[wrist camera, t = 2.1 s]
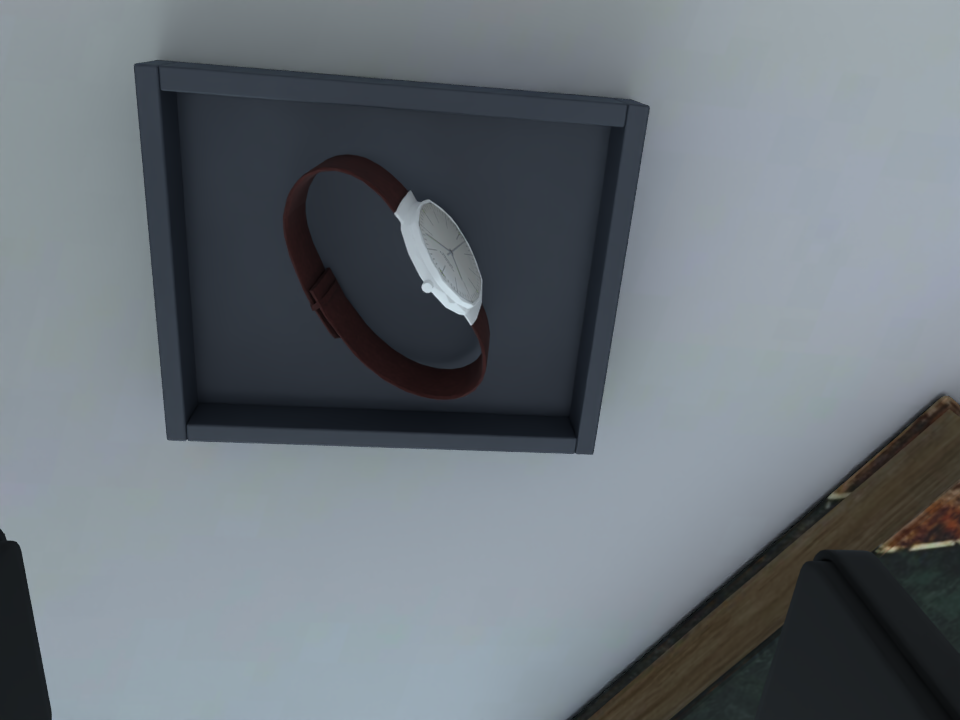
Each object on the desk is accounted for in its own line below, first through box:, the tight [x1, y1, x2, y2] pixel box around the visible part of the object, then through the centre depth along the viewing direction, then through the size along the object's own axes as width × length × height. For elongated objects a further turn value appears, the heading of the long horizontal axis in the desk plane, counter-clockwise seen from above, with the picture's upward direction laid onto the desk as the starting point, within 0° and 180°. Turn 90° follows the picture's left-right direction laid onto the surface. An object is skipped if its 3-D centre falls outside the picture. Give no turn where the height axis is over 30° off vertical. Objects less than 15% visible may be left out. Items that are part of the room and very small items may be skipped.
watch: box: [283, 154, 490, 400], centre depth 21 cm, size 8×5×4 cm, turn 32°
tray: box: [134, 60, 650, 455], centre depth 23 cm, size 13×11×2 cm
